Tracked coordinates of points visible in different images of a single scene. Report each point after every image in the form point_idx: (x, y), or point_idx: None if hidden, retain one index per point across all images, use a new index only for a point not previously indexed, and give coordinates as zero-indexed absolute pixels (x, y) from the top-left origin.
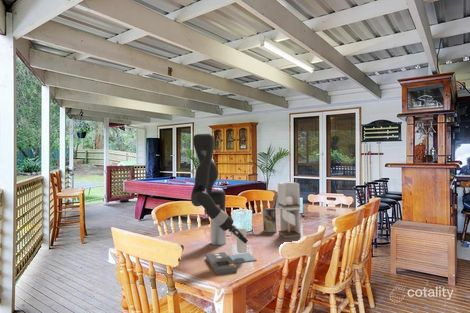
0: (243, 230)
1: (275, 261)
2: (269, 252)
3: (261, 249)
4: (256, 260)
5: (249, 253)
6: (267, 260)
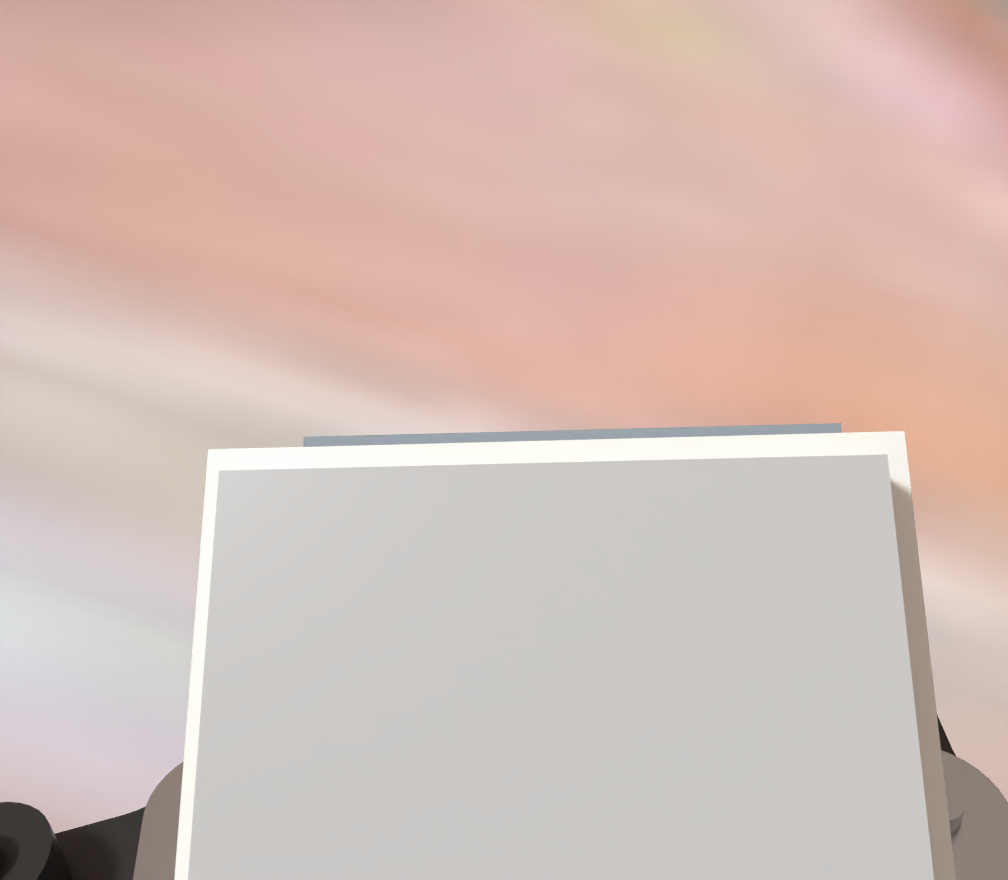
0: (908, 698)
1: (977, 81)
2: (374, 17)
3: (117, 102)
4: (837, 430)
5: (346, 439)
6: (871, 206)
